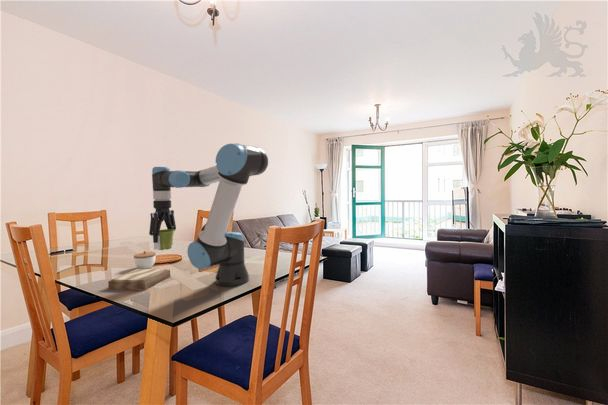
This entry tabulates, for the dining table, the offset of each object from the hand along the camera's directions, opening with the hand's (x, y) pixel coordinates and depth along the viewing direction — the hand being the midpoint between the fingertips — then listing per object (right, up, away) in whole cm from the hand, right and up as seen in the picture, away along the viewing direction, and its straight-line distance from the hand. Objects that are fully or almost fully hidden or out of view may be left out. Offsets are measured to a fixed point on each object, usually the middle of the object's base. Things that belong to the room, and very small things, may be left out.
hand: (164, 246), depth 135 cm
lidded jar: (-22, -15, +23) cm, 36 cm away
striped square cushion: (-10, -17, -1) cm, 19 cm away
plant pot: (0, -1, 0) cm, 1 cm away
